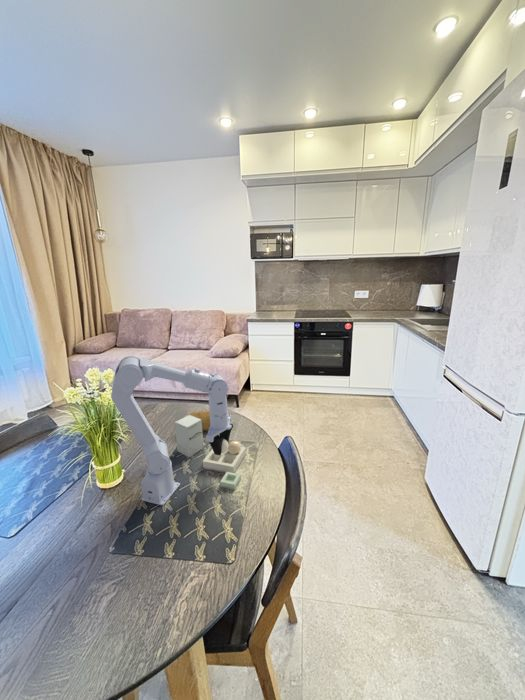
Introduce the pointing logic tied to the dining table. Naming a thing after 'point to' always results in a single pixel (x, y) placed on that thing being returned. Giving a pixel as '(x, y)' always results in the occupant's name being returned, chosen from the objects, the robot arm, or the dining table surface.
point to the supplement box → (189, 435)
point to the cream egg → (224, 446)
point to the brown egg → (234, 447)
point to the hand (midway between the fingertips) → (221, 449)
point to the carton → (224, 461)
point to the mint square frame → (230, 480)
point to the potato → (203, 418)
